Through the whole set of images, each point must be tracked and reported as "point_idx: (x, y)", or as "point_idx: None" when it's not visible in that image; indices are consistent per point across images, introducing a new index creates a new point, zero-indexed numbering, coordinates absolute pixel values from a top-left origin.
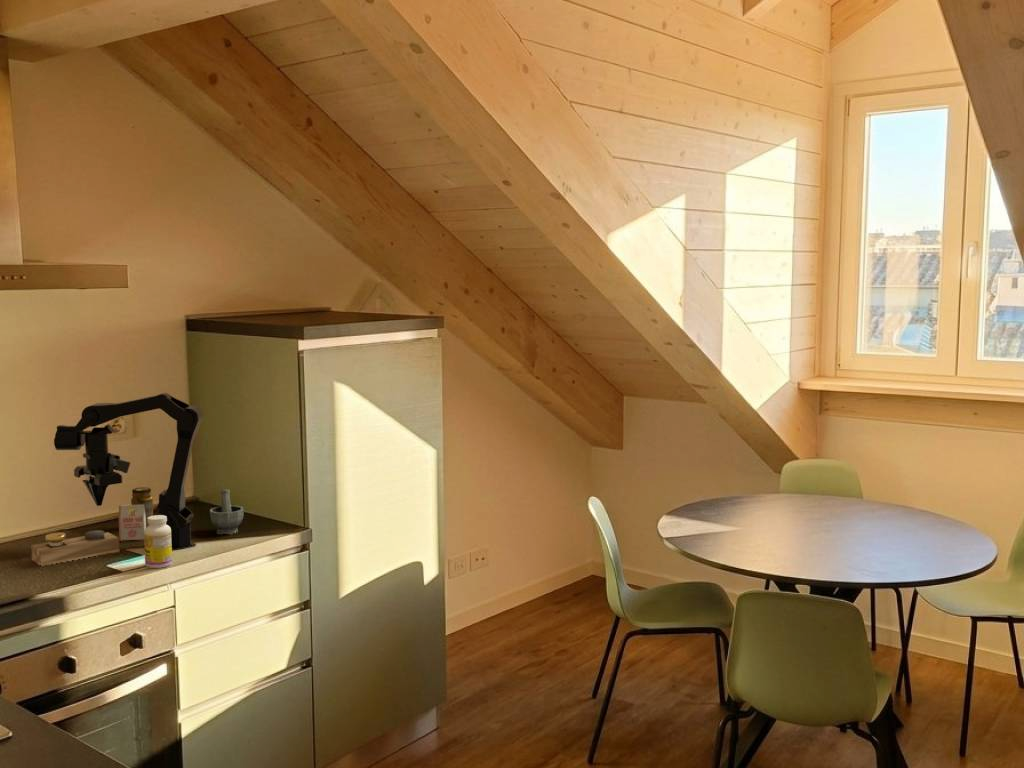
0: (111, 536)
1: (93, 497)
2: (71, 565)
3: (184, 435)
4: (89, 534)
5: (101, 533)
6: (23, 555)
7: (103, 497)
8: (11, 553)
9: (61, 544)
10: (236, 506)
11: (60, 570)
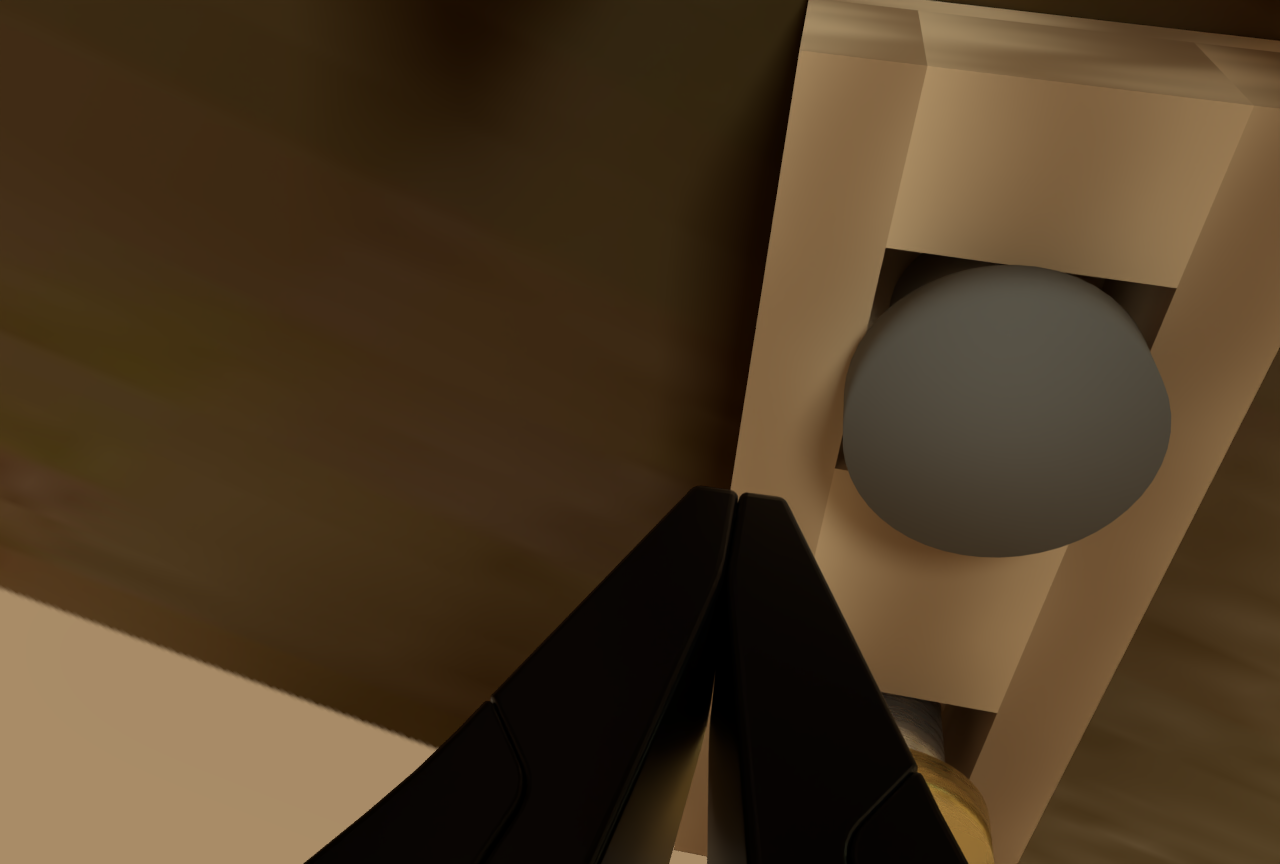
0: (1155, 165)
1: (669, 843)
2: (1213, 654)
3: None
4: (1044, 538)
5: (1169, 404)
6: (489, 692)
7: (867, 669)
8: (359, 706)
9: (937, 747)
10: None
11: (1265, 767)
